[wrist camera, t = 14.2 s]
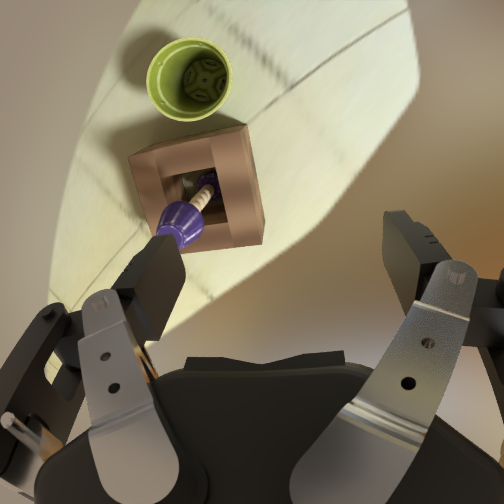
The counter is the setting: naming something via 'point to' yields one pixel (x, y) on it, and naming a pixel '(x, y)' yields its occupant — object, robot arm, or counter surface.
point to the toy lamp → (189, 212)
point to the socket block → (230, 179)
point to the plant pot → (183, 91)
